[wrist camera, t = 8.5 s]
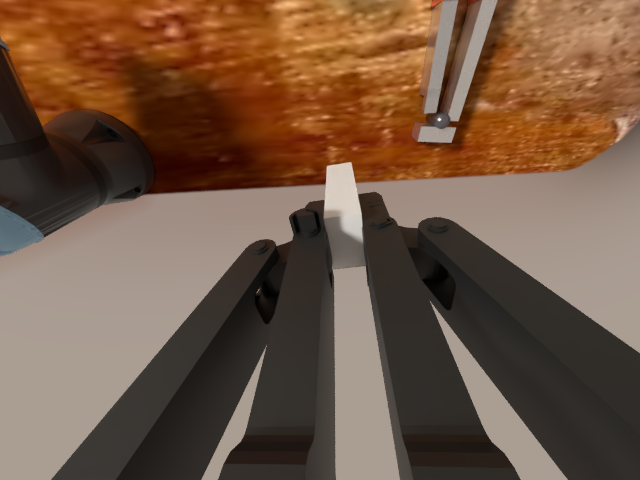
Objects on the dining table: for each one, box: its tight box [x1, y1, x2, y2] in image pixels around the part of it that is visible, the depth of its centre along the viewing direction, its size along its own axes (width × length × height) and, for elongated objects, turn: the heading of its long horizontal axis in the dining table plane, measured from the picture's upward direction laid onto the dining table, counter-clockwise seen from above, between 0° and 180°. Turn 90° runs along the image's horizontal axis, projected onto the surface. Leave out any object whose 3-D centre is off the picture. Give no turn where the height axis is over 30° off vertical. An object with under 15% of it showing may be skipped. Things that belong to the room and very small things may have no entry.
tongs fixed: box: [412, 0, 498, 143], centre depth 29 cm, size 20×5×4 cm, turn 179°
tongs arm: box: [419, 0, 458, 113], centre depth 29 cm, size 16×2×4 cm, turn 3°
